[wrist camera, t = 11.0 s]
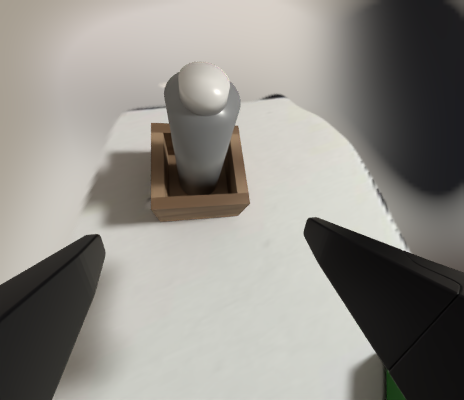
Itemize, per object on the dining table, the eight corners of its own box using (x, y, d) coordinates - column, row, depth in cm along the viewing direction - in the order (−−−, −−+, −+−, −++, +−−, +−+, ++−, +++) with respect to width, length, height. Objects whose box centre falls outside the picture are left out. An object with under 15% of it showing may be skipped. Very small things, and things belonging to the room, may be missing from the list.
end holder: (237, 215, 22) (250, 203, 17) (160, 221, 20) (151, 209, 15) (229, 151, 24) (238, 125, 20) (159, 151, 22) (151, 123, 18)
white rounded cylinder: (223, 175, 22) (257, 77, 10) (205, 204, 20) (220, 129, 9) (192, 157, 22) (190, 38, 10) (171, 185, 20) (142, 84, 9)
